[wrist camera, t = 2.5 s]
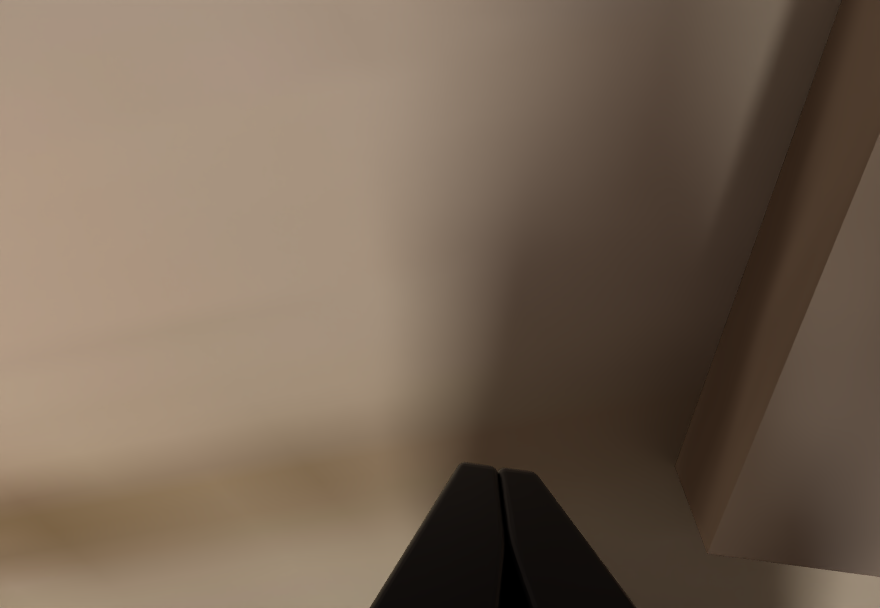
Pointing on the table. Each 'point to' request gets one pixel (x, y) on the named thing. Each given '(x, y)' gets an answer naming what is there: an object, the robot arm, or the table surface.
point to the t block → (804, 342)
